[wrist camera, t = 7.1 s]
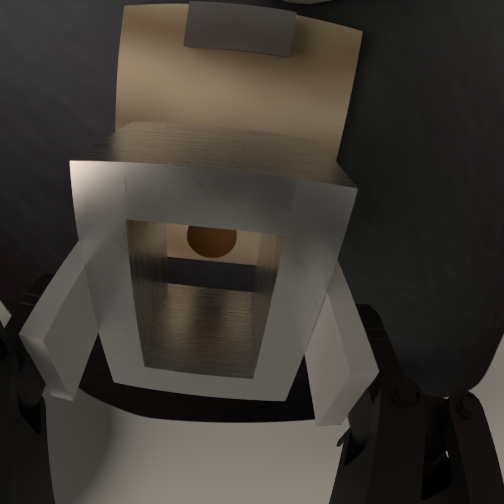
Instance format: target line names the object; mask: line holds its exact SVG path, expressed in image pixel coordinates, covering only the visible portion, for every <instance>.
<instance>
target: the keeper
mask: <svg viewBox="0 0 504 504" xmlns="http://www.w3.org/2000/svg"><path fill="white" fill-rule="evenodd" d="M296 14H297V12H293V11H287V10H281V9H275V8H268V7H261V6H253V5H244V4H234V3H222V2H205V1H190V2H189V4H146V5H130V6H124V13H123V21H122V29H121V38H120V48H119V60H118V73H117V91H116V125H115V132H116V131H117V130H119V129H121V128H122V127H124V126H126V125H128V124H129V123H131V122H163V123H182V124H196V125H209V126H220V127H230V128H239V129H248V130H256V131H264V132H271V133H278V134H285V135H292V136H298V137H304V138H310V139H316V140H318V141H319V142H320V143H321V144H322V146H323V147H324V148H325V149H326V150H327V151H328V153H329V154H330V155H331V156H332V157H333V158H334V160H335V161H336V159H337V155H338V151H339V147H340V142H341V138H342V133H343V129H344V125H345V120H346V115H347V111H348V106H349V101H350V96H351V92H352V87H353V82H354V77H355V71H356V66H357V61H358V56H359V50H360V44H361V39H362V33H363V31H360V30H356V29H353V28H349V27H346V26H342V25H338V24H334V23H330V22H326V21H322V20H317V19H313V18H308V17H303V16H298V15H296ZM261 235H262V233H257V232H248V231H238V230H229V229H219V228H210V227H200V226H190V225H180V224H170V223H167V255H168V256H169V257H178V258H188V259H198V260H208V261H218V262H228V263H239V264H249V265H256V264H257V258H258V252H259V247H260V241H261Z"/></svg>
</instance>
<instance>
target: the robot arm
mask: <svg viewBox="0 0 504 504" xmlns="http://www.w3.org/2000/svg"><path fill="white" fill-rule="evenodd" d="M98 332H99V328H98V325H97V321H96V317H95V313H94V308H93V304H92V300H91V295H90V291H89V286H88V281H87V276H86V271H85V266H83V261H82V256H81V250H80V244H79V241H78V243H77V244H76V246H75V247H74V248H73V250H72V251H71V253H70V254H69V255H68V257H67V258H66V260H65V261H64V263H63V264H62V265H61V267H60V268H59V270H58V271H57V273H56V274H55V275H53V274H47V273H45V274H44V275H43V276H41V277H40V278H39V279H37V280H36V281H35V282H34V283H33V284H32V286H31V287H30V289H29V290H28V292H27V295H25V296H24V298H23V299H22V301H21V304H19V305H18V307H17V308H16V310H15V312H14V313H13V315H12V316H11V318H10V320H9V321H8V323H7V325H6V326H5V328H4V327H3V325H2V323H1V321H0V504H55V501H54V494H53V488H52V481H51V473H50V465H49V455H48V444H47V429H46V405H45V400H44V398H43V396H42V393H43V390H44V388H45V385H46V387H47V388H48V390H49V391H50V393H51V395H52V396H56V397H60V398H63V399H67V400H71V401H73V400H74V397H75V394H76V391H77V389H78V386H79V383H80V380H81V377H82V374H83V371H84V369H85V366H86V363H87V360H88V358H89V355H90V352H91V350H92V347H93V345H94V342H95V340H96V337H97V334H98ZM388 338H389V337H388V335H387V332H386V330H384V325H383V323H382V320H381V318H380V316H379V315H378V313H377V312H376V311H375V310H374V309H373V308H372V307H371V306H370V305H367V304H355V303H354V300H353V298H352V295H351V293H350V290H349V288H348V285H347V282H346V280H345V277H344V275H343V272H342V270H341V268H340V265H339V263H338V260H337V261H336V265H335V268H334V271H333V274H332V277H331V280H330V283H329V286H328V289H327V292H326V295H325V298H324V300H323V303H322V306H321V309H320V312H319V315H318V317H317V320H316V323H315V326H314V329H313V331H312V334H311V337H310V339H309V342H308V345H307V347H306V350H305V359H306V364H307V370H308V376H309V382H310V388H311V394H312V400H313V406H314V413H315V419H316V425H317V426H328V425H341V424H342V423H343V421H344V420H345V419H346V417H347V416H348V418H349V423H350V428H349V429H348V430H347V431H346V432H345V433H344V435H343V436H342V437H341V438H340V439H339V441H338V443H337V446H341V444H342V443H343V442H344V443H343V448H342V453H341V457H340V462H339V466H338V470H337V474H336V478H335V482H334V486H333V490H332V494H331V498H330V502H329V504H504V484H503V478H502V474H501V470H500V465H499V462H498V457H497V454H496V450H495V446H494V443H493V439H492V436H491V432H490V429H489V426H488V422H487V419H486V416H485V413H484V410H483V407H482V405H481V403H480V401H479V399H478V398H477V397H476V396H475V395H474V394H473V393H471V392H469V391H467V390H461V389H460V390H457V391H454V392H453V393H452V394H451V395H450V396H449V398H448V399H444V398H439V397H434V396H429V395H425V394H423V392H422V390H421V389H420V387H419V386H418V385H417V384H416V383H414V382H413V381H412V380H410V379H407V378H405V377H404V375H403V372H402V370H401V367H400V365H399V362H398V359H397V357H396V354H395V352H394V349H393V347H392V344H391V342H390V340H388ZM446 451H447V452H448V456H449V458H448V457H447V455H446Z"/></svg>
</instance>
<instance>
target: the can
mask: <svg viewBox="0 0 504 504" xmlns="http://www.w3.org/2000/svg"><path fill="white" fill-rule="evenodd" d="M282 1H285V2H288V3H301V4H314V3H320V2H326V1H331V0H282Z"/></svg>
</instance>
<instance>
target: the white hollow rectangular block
mask: <svg viewBox="0 0 504 504" xmlns="http://www.w3.org/2000/svg"><path fill="white" fill-rule="evenodd" d="M70 172H71V183H72V193H73V202H74V210H75V218H76V225H77V232H78V238H79V244H80V250H81V256H82V261H83V266H85V271H86V276H87V281H88V286H89V291H90V295H91V300H92V304H93V308H94V313H95V317H96V321H97V325H98V328H99V335H100V338H101V342H102V345H103V349H104V352H105V355H106V359H107V362H108V365H109V368H110V371H111V374H112V377H113V380H114V382H116V383H121V384H126V385H131V386H137V387H143V388H149V389H155V390H162V391H169V392H176V393H184V394H192V395H201V396H211V397H222V398H234V399H250V400H271V401H285V400H286V397H287V395H288V393H289V390H290V388H291V385H292V383H293V380H294V378H295V375H296V373H297V370H298V368H299V365H300V363H301V360H302V358H303V355H304V353H305V350H306V347H307V345H308V342H309V339H310V337H311V334H312V331H313V329H314V326H315V323H316V320H317V317H318V315H319V312H320V309H321V306H322V303H323V300H324V298H325V295H326V292H327V289H328V286H329V283H330V280H331V277H332V274H333V271H334V268H335V265H336V261H337V258H338V255H339V252H340V249H341V246H342V242H343V239H344V236H345V233H346V229H347V226H348V222H349V219H350V216H351V212H352V209H353V205H354V202H355V198H356V194H357V191H358V188H357V187H356V185H355V184H354V183H353V182H352V180H351V179H350V178H349V177H348V175H347V174H346V173H345V172H344V170H343V169H342V168H341V167H340V166H339V164H338V163H337V162H336V161H335V160H334V158H333V157H332V156H331V155H330V154H329V153H328V151H327V150H326V149H325V148H324V147H323V146H322V144H321V143H320V142H319V141H318V140H316V139H310V138H304V137H298V136H292V135H285V134H278V133H271V132H264V131H256V130H248V129H239V128H230V127H220V126H209V125H196V124H182V123H163V122H131V123H129V124H128V125H126V126H124V127H122V128H121V129H119V130H117V131H116V132H114V133H112V134H111V135H109V136H107V137H106V138H104V139H102V140H101V141H99V142H98V143H96V144H94V145H93V146H91V147H90V148H88V149H87V150H85V151H83V152H82V153H80V154H79V155H77V156H76V157H74V158H73V159H71V160H70ZM167 223H170V224H180V225H190V226H200V227H210V228H219V229H229V230H238V231H248V232H257V233H262V235H261V241H260V247H259V252H258V258H257V264H256V270H255V276H254V282H253V288H252V292H244V291H233V290H223V289H214V288H204V287H195V286H186V285H177V284H169V283H168V255H167Z"/></svg>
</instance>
